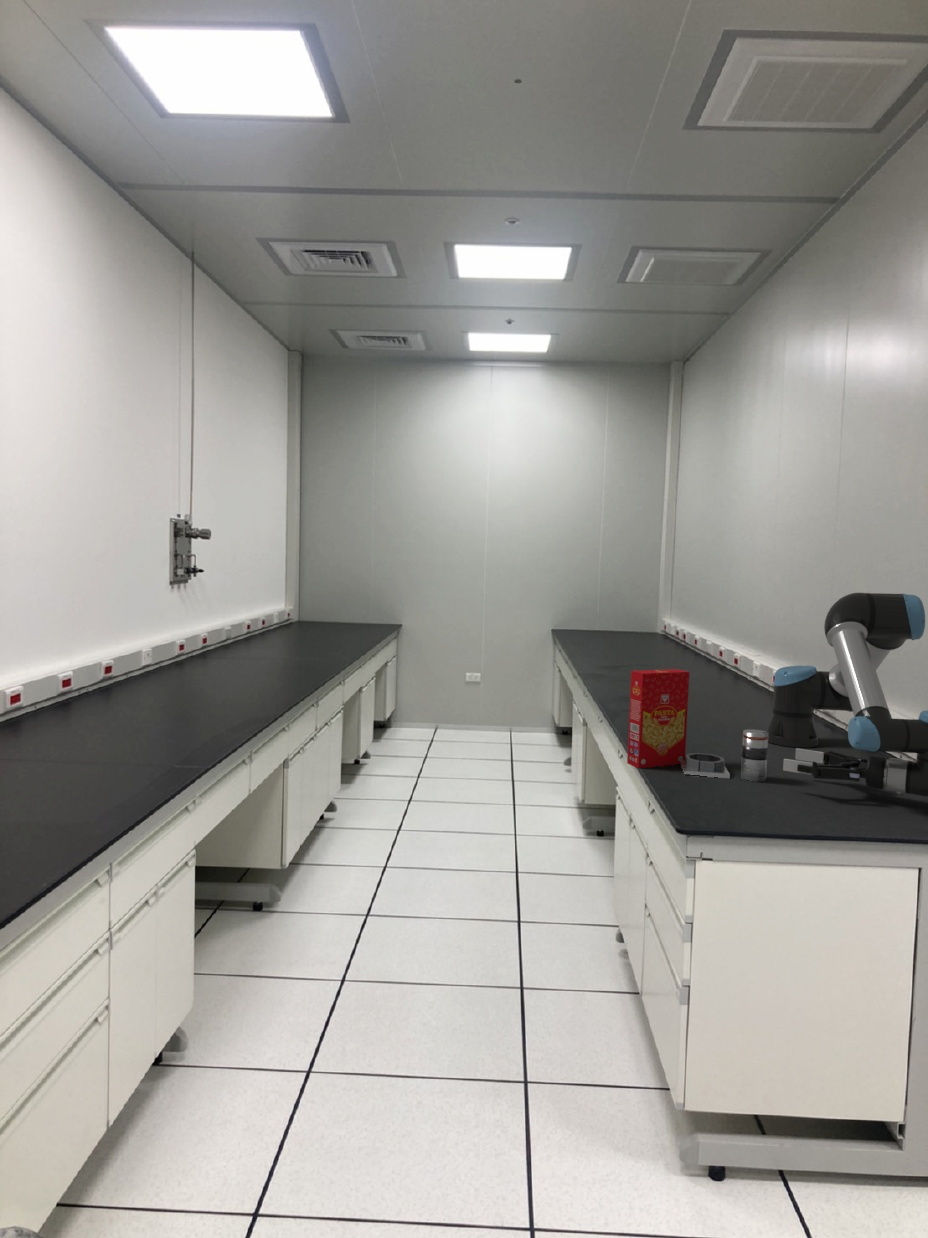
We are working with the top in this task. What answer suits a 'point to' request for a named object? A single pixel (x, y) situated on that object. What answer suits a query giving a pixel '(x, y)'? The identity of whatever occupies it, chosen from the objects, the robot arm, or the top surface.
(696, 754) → the mount
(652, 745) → the food packaging
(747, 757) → the lens
